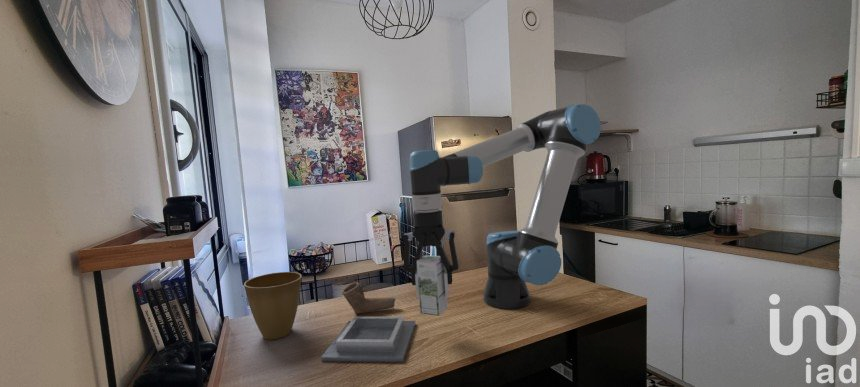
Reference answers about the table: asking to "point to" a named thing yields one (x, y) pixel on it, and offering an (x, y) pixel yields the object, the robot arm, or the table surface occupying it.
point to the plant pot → (274, 302)
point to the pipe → (365, 300)
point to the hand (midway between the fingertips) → (433, 296)
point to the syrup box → (431, 285)
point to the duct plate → (371, 340)
